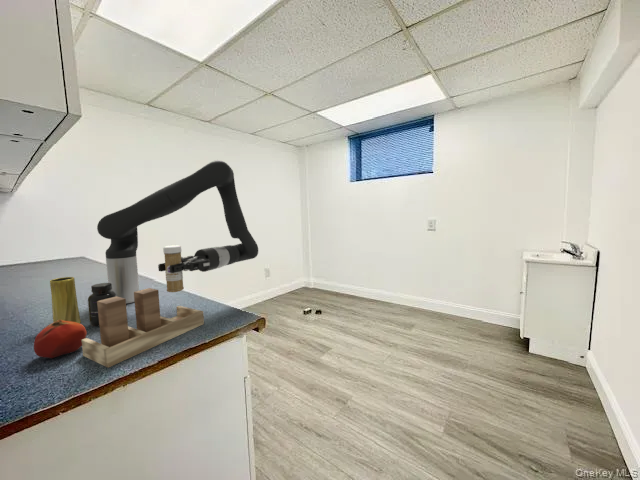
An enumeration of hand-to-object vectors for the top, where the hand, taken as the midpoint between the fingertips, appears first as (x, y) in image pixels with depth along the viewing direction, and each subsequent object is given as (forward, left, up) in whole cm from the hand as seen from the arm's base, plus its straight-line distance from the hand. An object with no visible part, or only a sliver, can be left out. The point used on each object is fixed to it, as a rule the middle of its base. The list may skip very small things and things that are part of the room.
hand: (165, 268), depth 75 cm
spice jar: (0, +3, -7) cm, 8 cm away
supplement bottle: (-22, -6, -18) cm, 29 cm away
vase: (-30, -12, -18) cm, 37 cm away
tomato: (-10, -20, -18) cm, 29 cm away
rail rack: (+1, -6, -18) cm, 19 cm away
